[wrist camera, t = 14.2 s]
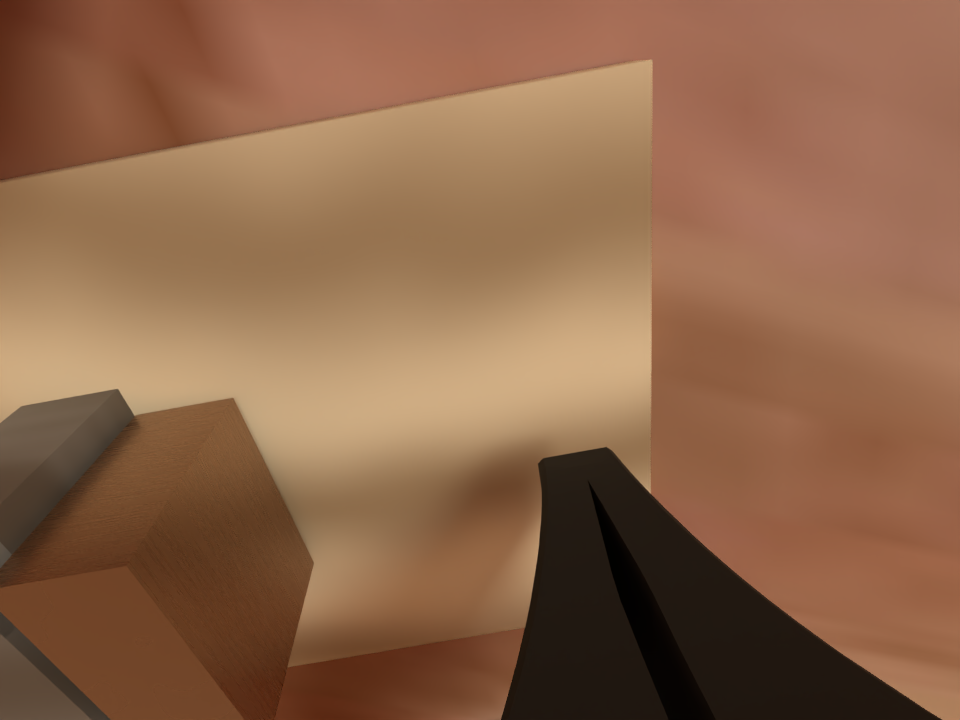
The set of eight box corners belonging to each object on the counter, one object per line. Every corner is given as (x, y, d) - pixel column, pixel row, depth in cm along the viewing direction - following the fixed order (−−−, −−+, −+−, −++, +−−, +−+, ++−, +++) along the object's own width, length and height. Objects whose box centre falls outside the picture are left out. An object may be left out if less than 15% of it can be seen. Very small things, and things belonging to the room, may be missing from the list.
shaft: (314, 562, 13) (266, 748, 9) (-37, 622, 13) (-214, 827, 9) (233, 397, 10) (126, 565, 7) (-199, 474, 10) (-522, 677, 7)
